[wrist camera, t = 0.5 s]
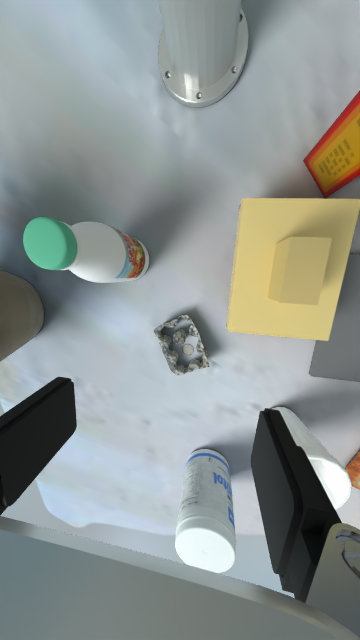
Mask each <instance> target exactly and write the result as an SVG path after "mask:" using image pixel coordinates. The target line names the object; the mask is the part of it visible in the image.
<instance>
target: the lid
mask: <svg viewBox="0 0 360 640" xmlns="http://www.w3.org/2000/svg"><path fill="white" fill-rule="evenodd" d="M359 210H360V199H313V198H243V199H242V201H241V204H240V207H239V216H238V225H237V234H236V242H235V251H234V260H233V269H232V278H231V287H230V295H229V304H228V313H227V322H226V328H227V331H228V332H238V333H249V334H260V335H270V336H281V337H291V338H302V339H312V340H323V341H328V340H329V336H330V332H331V328H332V323H333V319H334V315H335V311H336V307H337V302H338V298H339V294H340V290H341V285H342V281H343V277H344V273H345V269H346V264H347V260H348V256H349V252H350V248H351V243H352V239H353V235H354V231H355V227H356V222H357V218H358V214H359Z"/></svg>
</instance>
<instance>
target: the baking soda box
mask: <svg viewBox="0 0 360 640" xmlns="http://www.w3.org/2000/svg"><path fill="white" fill-rule="evenodd" d="M303 161H304V163H305V165H306V166H307V168H308V170H309V172H310V173H311V175H312V177H313V179H314V181H315V182H316V184H317V186H318V188H319V189H320V191H321V193H322V195H323V196H324V198H326V197H328V196H329V195H331V194H332V193H334V192H335V191H337V190H338V189H340V188H341V187H343V186H344V185H346V184H347V183H349V182H350V181H352V180H353V179H355V178H356V177H358V176H359V175H360V91H359V92H358V93H357V95H356V96H355V97H354V98H353V100H352V101H351V102H350V103H349V105H348V106H347V107H346V108H345V109H344V111H343V112H342V113H341V114H340V116H339V117H338V118H337V119H336V121H335V122H334V123H333V124H332V126H331V127H330V128H329V129H328V131H327V132H326V133H325V134H324V136H323V137H322V138H321V139H320V140H319V142H318V143H317V144H316V145H315V147H314V148H313V149H312V150H311V152H310V153H309V154H308V155H307V157H306V158H305V159H304V160H303Z"/></svg>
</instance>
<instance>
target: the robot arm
mask: <svg viewBox="0 0 360 640" xmlns="http://www.w3.org/2000/svg"><path fill="white" fill-rule="evenodd" d="M241 2H242V0H158V4H159V10H160V15H161V20H162V25H163V30H162V33H161V37H160V41H159V51H158V56H159V66H160V71H161V75H162V78H163V82H164V84H165V86H166V88H167V90H168V91H169V93H170V94H171V95H172V96H173V97H174V98H175V99H176V100H177V101H178V102H180V103H182V104H184V105H186V106H190V107H204V106H208V105H211V104H213V103H215V102H217V101H218V100H220V99H221V98H223V97H224V96H225V95H226V94H227V93H228V92H229V91H230V90H231V89H232V87H233V86H234V85H235V83H236V82H237V80H238V78H239V76H240V74H241V72H242V70H243V67H244V64H245V60H246V55H247V49H248V40H249V36H248V25H247V20H246V16H245V14H244V12H243V9H242V7H241ZM76 426H77V423H76V409H75V394H74V383H73V382H72V381H71V379H70V378H64V377H57V378H55V379H54V380H52V381H51V382H50V383H48V384H47V385H45V386H44V387H42V388H41V389H39V390H38V391H36V392H35V393H34V394H32V395H31V396H29V397H28V398H26V399H25V400H23V401H22V402H20V403H19V404H18V405H16V406H15V407H13V408H12V409H10V410H9V411H7V412H6V413H4V414H3V415H2V416H0V515H1V514H2V513H3V512H4V510H5V509H6V508H7V507H8V506H11V505H12V504H13V503H14V502H15V501H16V500H17V499H18V498H19V497H20V496H21V494H22V493H23V492H24V491H25V490H26V488H27V487H28V486H29V485H30V484H31V483H32V481H33V480H34V479H35V478H36V477H37V476H38V474H39V473H40V472H41V471H42V470H43V469H44V467H45V466H46V465H47V464H48V463H49V461H50V460H51V459H52V458H53V457H54V456H55V454H56V453H57V452H58V451H59V450H60V449H61V447H62V446H63V445H64V444H65V443H66V441H67V440H68V439H69V438H70V437H71V436H72V434H73V433H74V432H75V430H76ZM251 467H252V472H253V477H254V482H255V487H256V492H257V496H258V501H259V506H260V511H261V516H262V520H263V525H264V530H265V535H266V539H267V544H268V549H269V553H270V559H271V564H272V568H273V571H274V573H276V574H279V576H280V581H281V585H282V590H284V591H288V592H291V593H294V596H295V598H292V597H290V596H288V595H285V594H282V593H279V592H276V591H274V590H271V589H268V588H265V587H262V586H259V585H256V584H253V583H249V582H246V581H242V580H239V579H235V578H232V577H229V576H225V575H222V574H218V573H215V572H212V571H208V570H205V569H201V568H197V567H193V566H190V565H186V564H182V563H178V562H174V561H171V560H167V559H163V558H159V557H156V556H152V555H149V554H145V553H141V552H137V551H133V550H130V549H126V548H122V547H118V546H114V545H111V544H107V543H103V542H99V541H95V540H91V539H87V538H84V537H80V536H76V535H72V534H68V533H65V532H61V531H57V530H53V529H49V528H45V527H41V526H37V525H34V524H29V523H26V522H22V521H17V520H14V519H10V518H6V517H1V516H0V640H360V530H359V529H357V528H355V527H353V526H351V525H348V524H343V523H342V522H341V520H340V518H339V516H338V514H337V512H336V511H335V509H334V507H333V505H332V503H331V501H330V499H329V497H328V495H327V493H326V491H325V489H324V488H323V486H322V484H321V482H320V480H319V478H318V476H317V474H316V472H315V470H314V468H313V466H312V465H311V463H310V461H309V459H308V457H307V455H306V453H305V451H304V450H303V448H302V447H300V446H297V445H296V443H295V441H294V439H293V437H292V435H291V433H290V431H289V429H288V427H287V425H286V423H285V421H284V419H283V417H282V415H281V413H280V411H279V410H274V409H268V408H265V410H264V411H260V414H259V419H258V424H257V429H256V435H255V440H254V445H253V450H252V455H251Z"/></svg>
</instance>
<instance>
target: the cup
mask: <svg viewBox="0 0 360 640" xmlns="http://www.w3.org/2000/svg"><path fill="white" fill-rule="evenodd" d="M272 409H274V410H279V411H280V413H281V415H282V417H283V419H284V421H285V423H286V425H287V427H288V429H289V431H290V433H291V435H292V437H293V439H294V441H295V443H296V445H297V446H300V447H302V448H303V450H304V451H305V453H306V455H307V457H308V459H309V461H310V463H311V465H312V466H313V468H314V470H315V472H316V474H317V476H318V478H319V480H320V482H321V484H322V486H323V488H324V489H325V491H326V493H327V495H328V497H329V499H330V501H331V503H332V505H333V507H334V509H337V508H339V507H341V506H342V505H343V504H344V503H345V502H346V500H347V499H348V498H349V497H350V492H351V486H352V483H351V480H350V478H349V475H348V473H347V471H346V470H345V469H344V467H343V466H342V465H341V464H340V463H339V462H338V460H337V459H336V458H334V457H333V456H332V455H331V454H330V453H329V452H328V451H327V449H326V448H325V447H324V446H323V445H322V444H321V443H320V442H319V441H318V439H317V438H316V437H315V436H314V435H313V434H312V433H311V432H310V430H309V429H308V428H307V427H306V426H305V425H304V424H303V423H302V421H301V420H300V419H299V418H298V417H297V416H296V415H295V414H294V413H293V412H292V411H291V410H290V409H287V408H285V407H275V408H272Z"/></svg>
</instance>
